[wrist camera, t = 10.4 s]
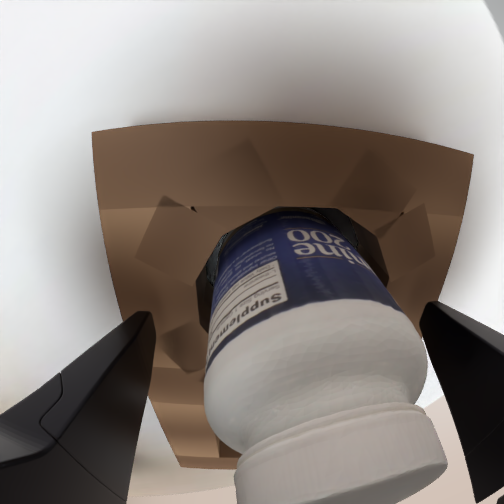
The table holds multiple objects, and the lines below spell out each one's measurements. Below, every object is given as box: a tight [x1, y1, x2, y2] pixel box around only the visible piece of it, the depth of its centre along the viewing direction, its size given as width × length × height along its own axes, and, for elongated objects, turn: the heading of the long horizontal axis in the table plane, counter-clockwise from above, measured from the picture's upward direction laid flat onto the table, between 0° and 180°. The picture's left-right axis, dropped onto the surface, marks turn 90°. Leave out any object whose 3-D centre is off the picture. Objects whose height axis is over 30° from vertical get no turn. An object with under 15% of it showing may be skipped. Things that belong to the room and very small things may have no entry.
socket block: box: [92, 121, 474, 469], centre depth 13 cm, size 20×12×3 cm, turn 179°
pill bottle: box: [204, 206, 448, 504], centre depth 8 cm, size 5×5×10 cm
